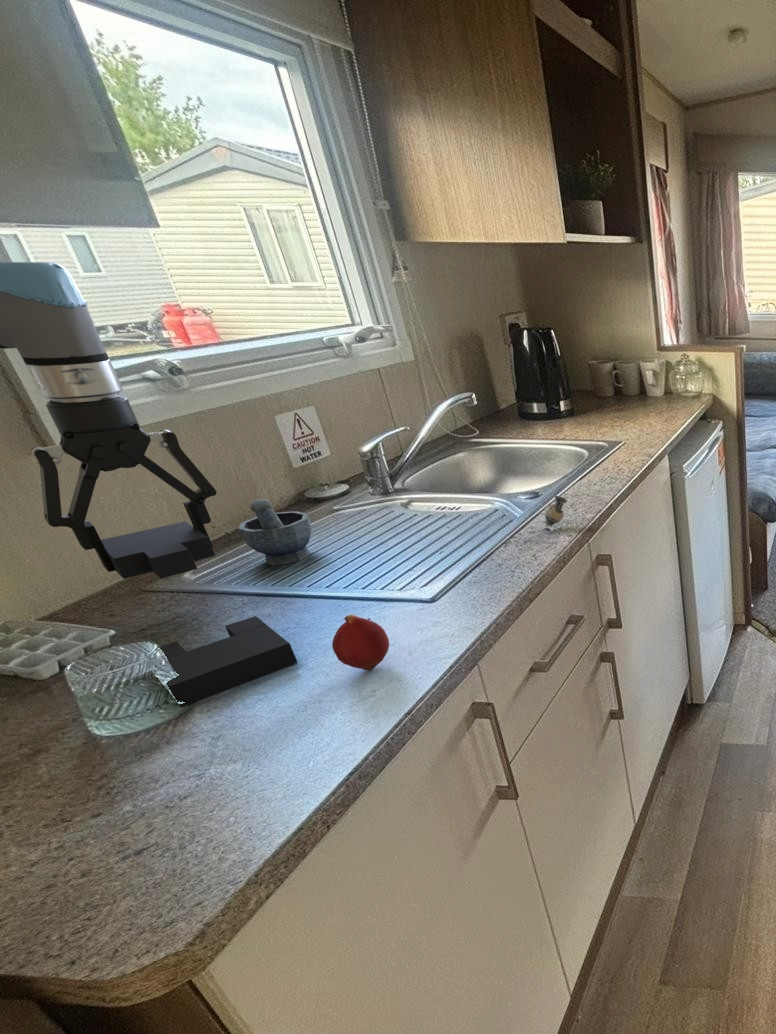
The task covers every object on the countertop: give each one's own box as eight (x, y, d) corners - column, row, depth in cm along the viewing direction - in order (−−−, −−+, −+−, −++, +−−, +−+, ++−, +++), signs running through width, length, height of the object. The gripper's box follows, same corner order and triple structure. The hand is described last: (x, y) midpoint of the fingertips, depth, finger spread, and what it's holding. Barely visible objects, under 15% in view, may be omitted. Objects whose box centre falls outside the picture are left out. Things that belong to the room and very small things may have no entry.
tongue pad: (105, 560, 93) (95, 540, 92) (193, 539, 100) (185, 521, 99) (130, 586, 86) (120, 565, 85) (224, 562, 93) (215, 542, 92)
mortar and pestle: (259, 553, 116) (232, 488, 111) (321, 543, 121) (299, 480, 115) (250, 577, 108) (220, 507, 102) (318, 565, 112) (293, 498, 106)
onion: (362, 656, 86) (343, 602, 83) (405, 657, 86) (388, 603, 83) (333, 681, 81) (311, 625, 78) (378, 682, 81) (358, 626, 78)
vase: (565, 520, 132) (560, 491, 129) (577, 527, 128) (572, 498, 126) (539, 526, 129) (533, 497, 126) (550, 534, 125) (545, 504, 122)
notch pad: (152, 672, 83) (141, 652, 81) (263, 634, 91) (255, 615, 90) (180, 707, 76) (169, 686, 75) (297, 662, 85) (289, 643, 84)
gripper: (-46, 414, 74) (54, 591, 84) (205, 389, 90) (263, 539, 100) (-53, 406, 78) (43, 575, 88) (188, 383, 94) (245, 528, 104)
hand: (160, 556), depth 94 cm, fingers closed on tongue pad, 10 cm apart
